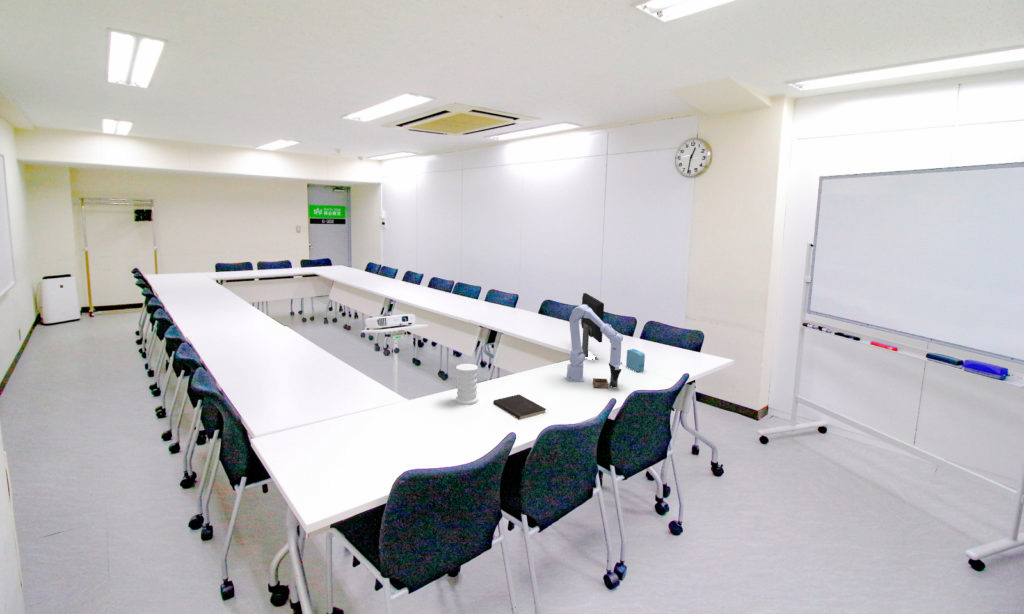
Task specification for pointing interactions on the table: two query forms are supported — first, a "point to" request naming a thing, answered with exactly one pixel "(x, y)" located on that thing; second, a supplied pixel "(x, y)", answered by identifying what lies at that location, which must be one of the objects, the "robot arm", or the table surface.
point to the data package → (635, 360)
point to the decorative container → (466, 384)
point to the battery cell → (613, 382)
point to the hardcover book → (519, 406)
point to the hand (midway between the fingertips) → (614, 378)
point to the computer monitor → (591, 322)
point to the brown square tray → (600, 383)
